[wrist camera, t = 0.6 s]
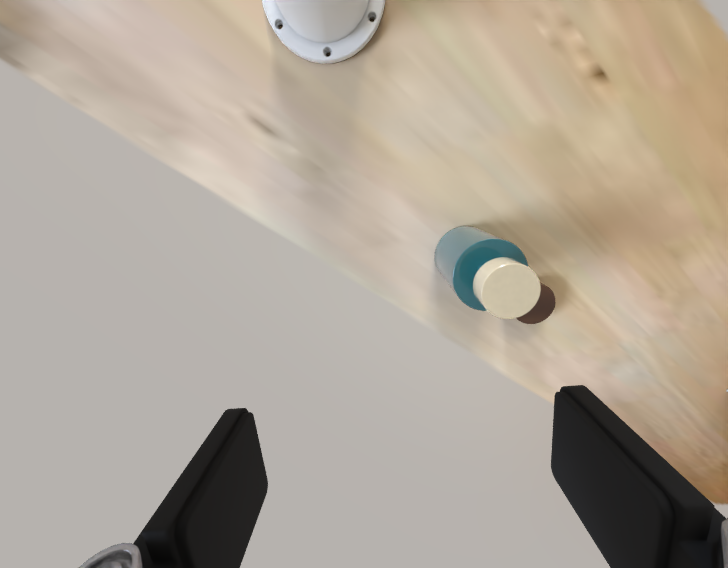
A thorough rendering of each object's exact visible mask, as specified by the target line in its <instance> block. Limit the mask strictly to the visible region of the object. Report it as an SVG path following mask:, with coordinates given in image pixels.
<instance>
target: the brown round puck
mask: <svg viewBox="0 0 728 568" xmlns="http://www.w3.org/2000/svg"><path fill="white" fill-rule="evenodd" d="M540 285H541V291H540V296H539V299H538V301H537V303H536V304H535V306H534V307H533V308H532V309H531V310H530V311H529V312H528V313H526V314H524V315H523V316H520V317H518V318H517V319H518V320H519V321H521V322H523V323H527V324H535V323H539V322H541V321H543V320H545V319H546V318H548V317H549V316H550V314H551V313H552V312H553V310H554V307H555V296H554V293H553V292H552V290H551V289H550V288H548V287H547V286H545V285H544V284H542V283H540Z"/></svg>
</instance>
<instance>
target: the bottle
mask: <svg viewBox="0 0 728 568" xmlns="http://www.w3.org/2000/svg"><path fill="white" fill-rule="evenodd" d="M435 263H436V266H437V268H438V270H439V272H440V273H441V275H442V276H443V277H444V279H445V280H446V281H447V283H448V284H449V285H450V287H451V288H452V289H453V291H454V292H455V293H456V295H457V296H458V297H459V299H460V300H461V301H462V302H463V303H465V304H466V305H467V306H469V307H471V308H473V309H477V310H482V311H488V312H489V313H490V314H492V315H493V316H495V317H498V318H501V319H514V318H518V317H520V316H523V315H524V314H526V313H528V312H529V311H530V310H531V309H532V308H533V307H534V306H535V304H536V303H537V301H538V299H539V296H540V291H541V285H540V281H539V278H538V276H537V274H536V273H535V272H534V271H533V270H532V269H531V268H529V267H528V263H527V260H526V258H525V256H524V254H523V252H522V251H521V250H520V249H519V248H518V247H517V246H516V245H514V244H513V243H511V242H509V241H506V240H504V239H502V238H499V237H497V236H495V235H492V234H490V233H487V232H485V231H483V230H480V229H478V228H475V227H471V226H461V227H457V228H455V229H452V230H450V231H449V232H447V233H446V234H445V235H444V236H443V237H442V238H441V240H440V241H439V243H438V245H437V247H436V251H435Z"/></svg>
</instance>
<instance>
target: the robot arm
mask: <svg viewBox="0 0 728 568" xmlns="http://www.w3.org/2000/svg"><path fill="white" fill-rule="evenodd" d="M262 3H263V8H264V10H265V13H266V16H267V19H268V21H269V23H270V25H271V26H272V28H273V30H274V32H275V33H276V35H277V36H278V38H279V39H280V40H281V42H282V43H283V44H284V45H285V46H286V47H287V48H288V49H289V50H291V51H292V52H293V53H295V54H296V55H298V56H299V57H301V58H304V59H306V60H308V61H311V62H316V63H335V62H340V61H343V60H345V59H347V58H350V57H352V56H353V55H355V54H356V53H357V52H359V51H360V50H361V49H363V48H364V46H365V45H366V44H367V43H368V42H369V41H370V40H371V38H372V36H373V35H374V33H375V31H376V30H377V28H378V26H379V23H380V20H381V18H382V15H383V10H384V6H385V0H262ZM370 19H374V20H375V21H374V22H370ZM280 26H283V27H282V28H281V29H279V27H280ZM328 52H329V53H331V55H330V56H328V57H327V56H326V54H327V53H328ZM551 469H552V473H553V475H554V478H555V480H556V481H557V483H558V484H559V486H560V487H561V489H562V491H563V492H564V494H565V496H566V497H567V499H568V500H569V502H570V504H571V505H572V507H573V508H574V510H575V512H576V513H577V515H578V516H579V518H580V520H581V521H582V523H583V524H584V526H585V528H586V529H587V531H588V532H589V534H590V535H591V537H592V539H593V540H594V542H595V544H596V545H597V547H598V548H599V550H600V551H601V553H602V554H603V556H604V558H605V559H606V561H607V563H608V564H609V566H610V567H611V568H728V518H727V519H726V518H725V517H724V516H723V515H722V514H720V512H719V511H717V510H716V509H715V508H714V505H713V504H712V503H711V502H710V501H709V500H708V499H707V498H706V497H705V496H704V495H702V494H701V493H700V492H699V491H698V490H697V489H696V488H695V487H694V486H693V485H692V484H691V483H689V482H688V481H687V480H686V479H685V478H684V477H683V476H682V475H681V474H680V473H679V472H678V471H676V470H675V469H674V468H673V467H672V466H671V465H670V464H669V463H668V462H667V461H666V460H665V459H663V458H662V457H661V456H660V455H659V454H658V453H657V452H656V451H655V450H654V449H653V448H652V447H651V446H649V445H648V444H647V443H646V442H645V441H644V440H643V439H642V438H641V437H640V436H639V435H638V434H636V433H635V432H634V431H633V430H632V429H631V428H630V427H629V426H628V425H627V424H626V423H625V422H623V421H622V420H621V419H620V418H619V417H618V416H617V415H616V414H615V413H614V412H613V411H612V410H610V409H609V408H608V407H607V406H606V405H605V404H604V403H603V402H602V401H601V400H600V399H599V398H597V397H596V396H595V395H594V394H593V393H592V392H591V391H590V390H589V389H588V388H587V387H585V386H583V385H578V386H564V387H561V389H560V392H556V394H555V401H554V419H553V439H552V456H551ZM267 488H268V481H267V476H266V471H265V466H264V462H263V457H262V453H261V448H260V443H259V439H258V434H257V429H256V425H255V420H254V416H253V414H252V413H251V412H250V413H248V411H247V409H246V408H238V409H228V410H226V411H225V412H224V413H223V415H222V416H221V418H220V419H219V421H218V422H217V424H216V425H215V426H214V428H213V429H212V431H211V432H210V434H209V435H208V437H207V438H206V440H205V441H204V442H203V444H202V445H201V447H200V448H199V450H198V451H197V453H196V454H195V455H194V457H193V458H192V460H191V461H190V463H189V464H188V465H187V467H186V468H185V470H184V471H183V473H182V474H181V475H180V477H179V478H178V480H177V481H176V483H175V484H174V486H173V487H172V489H171V490H170V491H169V493H168V494H167V496H166V497H165V499H164V500H163V502H162V503H161V504H160V506H159V507H158V509H157V510H156V512H155V513H154V515H153V516H152V517H151V519H150V520H149V522H148V523H147V525H146V526H145V528H144V529H143V530H142V532H141V533H140V535H139V536H138V538H137V539H136V541H135V542H134V544H132V543H121V544H117V545H113V546H111V547H109V548H107V549H104V550H102V551H100V552H99V553H97V554H96V555H94V556H93V557H91V558H90V559H88V560H87V561H86V562H85V563H83V564H82V565H81V566H80V567H79V568H240V565H241V562H242V559H243V557H244V554H245V551H246V548H247V546H248V543H249V540H250V537H251V535H252V532H253V529H254V526H255V524H256V521H257V518H258V515H259V513H260V510H261V507H262V504H263V502H264V499H265V496H266V493H267Z"/></svg>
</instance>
